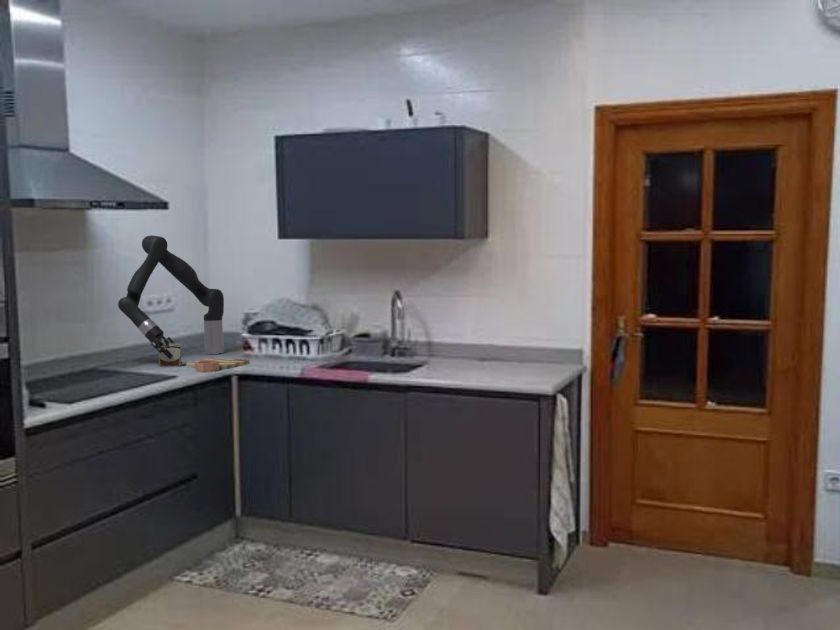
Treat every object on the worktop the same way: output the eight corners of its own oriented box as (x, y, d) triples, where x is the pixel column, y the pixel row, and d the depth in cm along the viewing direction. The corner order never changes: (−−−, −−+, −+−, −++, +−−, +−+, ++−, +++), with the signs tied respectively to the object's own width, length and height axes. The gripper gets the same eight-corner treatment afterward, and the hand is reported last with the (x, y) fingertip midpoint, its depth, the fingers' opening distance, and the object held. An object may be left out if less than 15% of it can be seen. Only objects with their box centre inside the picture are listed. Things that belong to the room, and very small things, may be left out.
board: (210, 361, 394) (210, 357, 394) (249, 363, 386) (249, 359, 385) (186, 366, 377) (186, 362, 377) (226, 368, 369) (226, 364, 369)
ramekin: (205, 368, 372) (204, 359, 372) (223, 369, 368) (223, 360, 368) (191, 371, 363) (190, 363, 363) (209, 373, 359) (209, 364, 359)
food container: (187, 364, 384) (186, 343, 383) (182, 366, 378) (181, 345, 377) (162, 364, 385) (161, 343, 384) (156, 366, 379) (155, 345, 378)
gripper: (147, 326, 375) (172, 352, 373) (164, 323, 389) (187, 348, 387) (137, 338, 376) (162, 364, 375) (154, 334, 390) (178, 359, 389)
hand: (175, 356), depth 381 cm, fingers closed on food container, 6 cm apart
